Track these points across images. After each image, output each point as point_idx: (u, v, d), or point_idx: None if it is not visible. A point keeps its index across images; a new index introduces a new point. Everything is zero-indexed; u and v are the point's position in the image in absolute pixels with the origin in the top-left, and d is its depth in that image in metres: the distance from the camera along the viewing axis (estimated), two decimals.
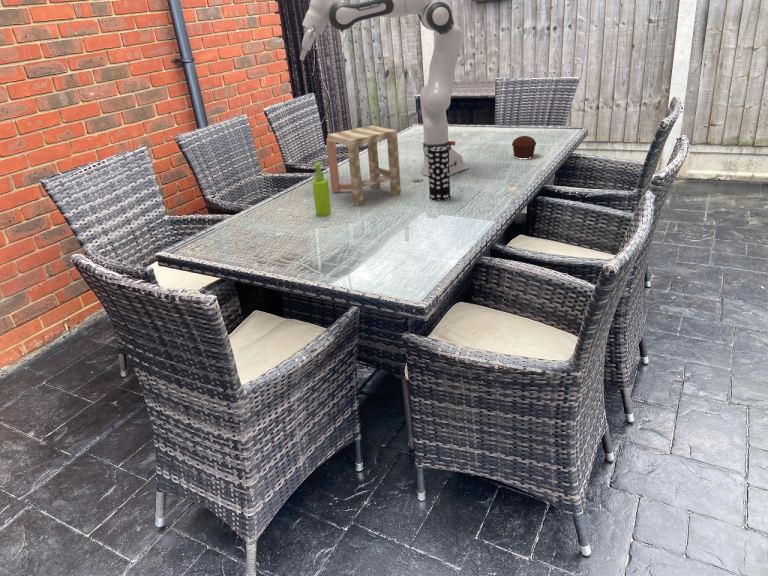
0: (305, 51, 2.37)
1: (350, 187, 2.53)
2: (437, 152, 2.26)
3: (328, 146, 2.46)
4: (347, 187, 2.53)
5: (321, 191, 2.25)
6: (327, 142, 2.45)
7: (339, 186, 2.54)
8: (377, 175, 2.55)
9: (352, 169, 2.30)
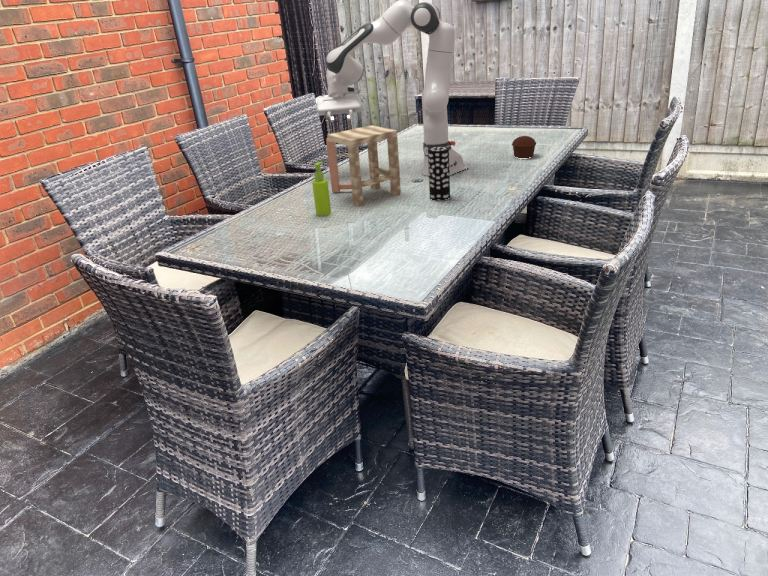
0: (327, 114, 2.59)
1: (350, 187, 2.53)
2: (437, 152, 2.26)
3: (328, 146, 2.46)
4: (347, 187, 2.53)
5: (321, 191, 2.25)
6: (327, 142, 2.45)
7: (339, 186, 2.54)
8: (377, 175, 2.55)
9: (352, 169, 2.30)
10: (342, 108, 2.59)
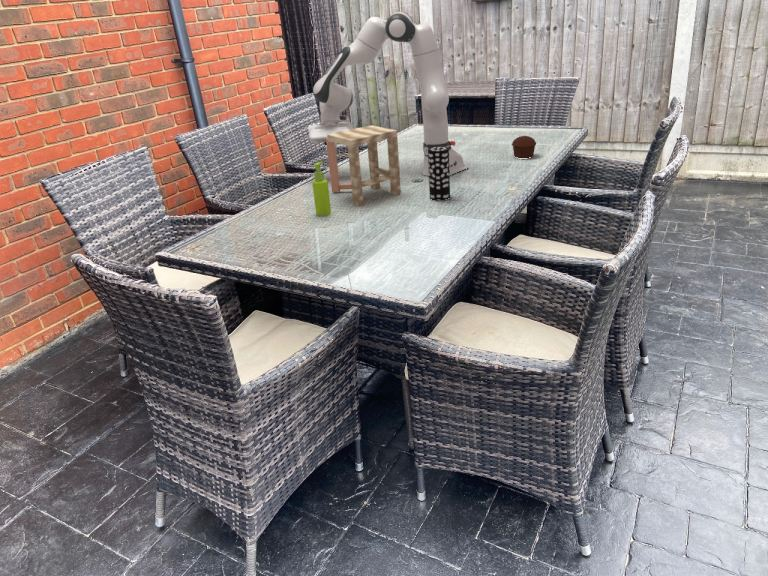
0: None
1: (350, 187, 2.53)
2: (437, 152, 2.26)
3: (328, 146, 2.46)
4: (347, 187, 2.53)
5: (321, 191, 2.25)
6: (327, 142, 2.45)
7: (339, 186, 2.54)
8: (377, 175, 2.55)
9: (352, 169, 2.30)
10: None
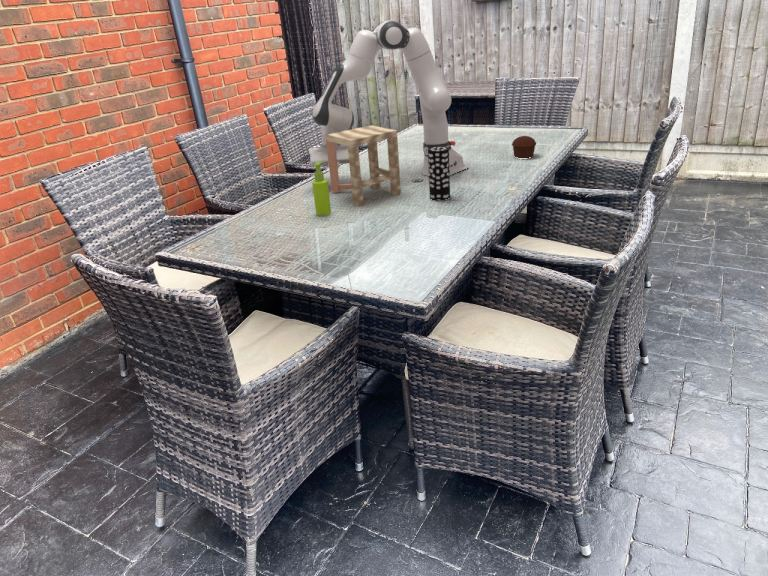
0: (328, 164, 2.55)
1: (350, 187, 2.53)
2: (437, 152, 2.26)
3: (328, 146, 2.45)
4: (347, 187, 2.53)
5: (321, 191, 2.25)
6: (327, 142, 2.45)
7: (339, 186, 2.53)
8: (377, 175, 2.55)
9: (352, 169, 2.30)
10: None
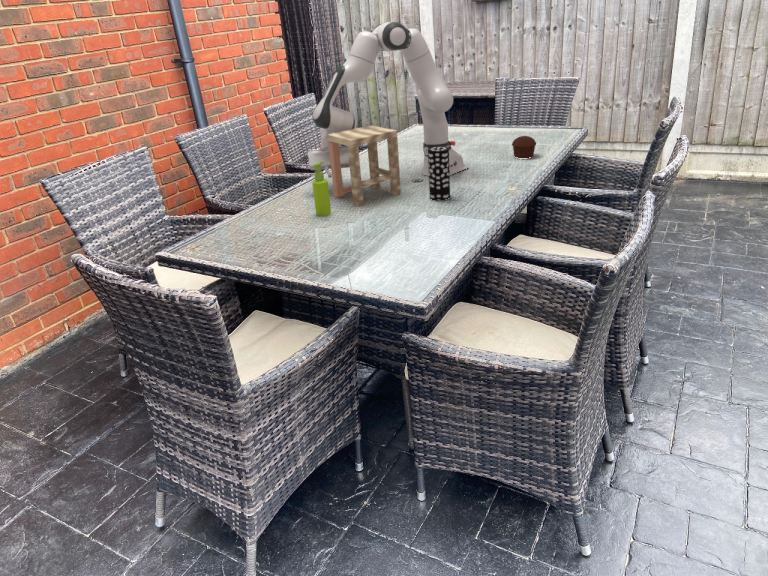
0: (325, 169, 2.48)
1: None
2: (437, 152, 2.26)
3: (334, 150, 2.39)
4: (350, 189, 2.50)
5: (321, 191, 2.25)
6: (333, 146, 2.38)
7: (343, 190, 2.48)
8: (377, 175, 2.55)
9: (352, 169, 2.30)
10: None
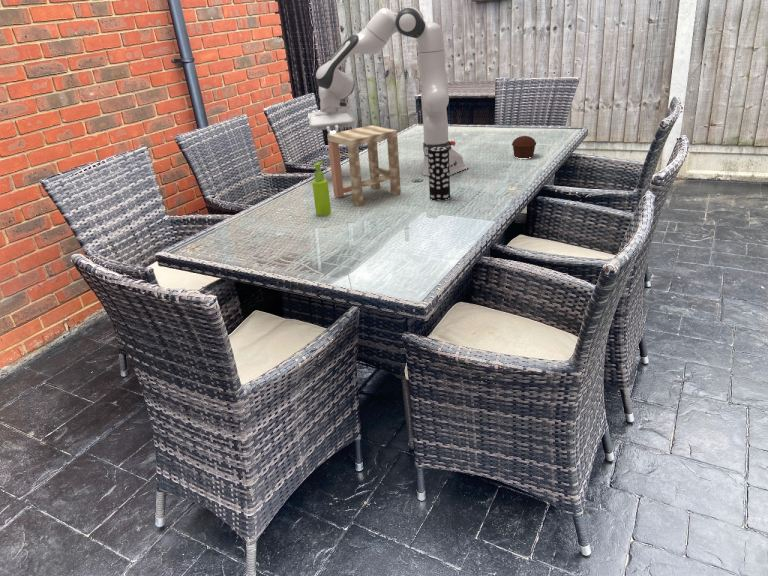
0: (326, 128, 2.60)
1: None
2: (437, 152, 2.26)
3: (334, 150, 2.39)
4: (350, 189, 2.50)
5: (321, 191, 2.25)
6: (333, 146, 2.38)
7: (343, 190, 2.48)
8: (377, 175, 2.55)
9: (352, 169, 2.30)
10: (334, 123, 2.59)
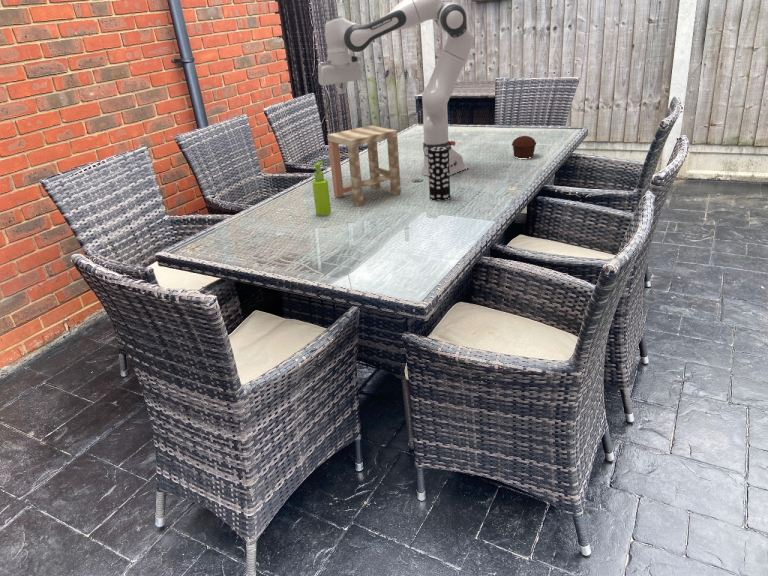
0: (336, 85, 2.50)
1: None
2: (437, 152, 2.26)
3: (334, 150, 2.39)
4: (350, 189, 2.50)
5: (321, 191, 2.25)
6: (333, 146, 2.38)
7: (343, 190, 2.48)
8: (377, 175, 2.55)
9: (352, 169, 2.30)
10: (345, 81, 2.50)
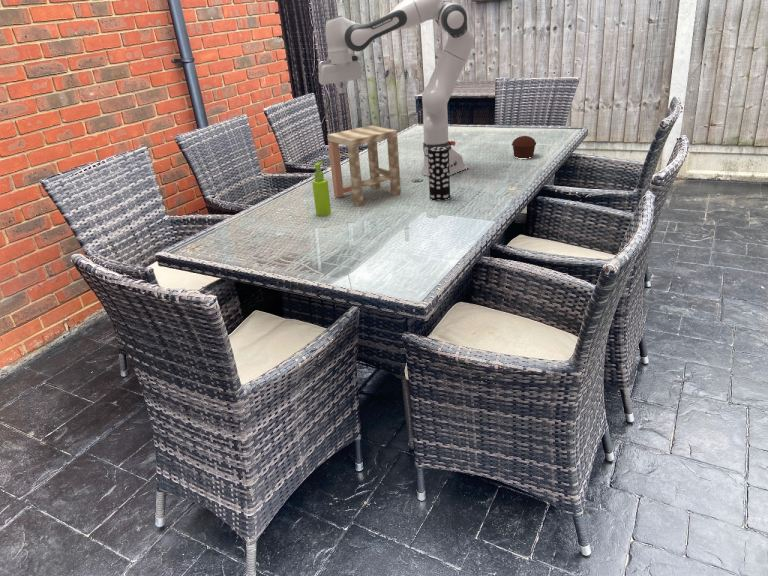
0: (336, 84, 2.50)
1: None
2: (437, 152, 2.26)
3: (334, 150, 2.39)
4: (350, 189, 2.50)
5: (321, 191, 2.25)
6: (333, 146, 2.38)
7: (343, 190, 2.48)
8: (377, 175, 2.55)
9: (352, 169, 2.30)
10: (345, 80, 2.50)
